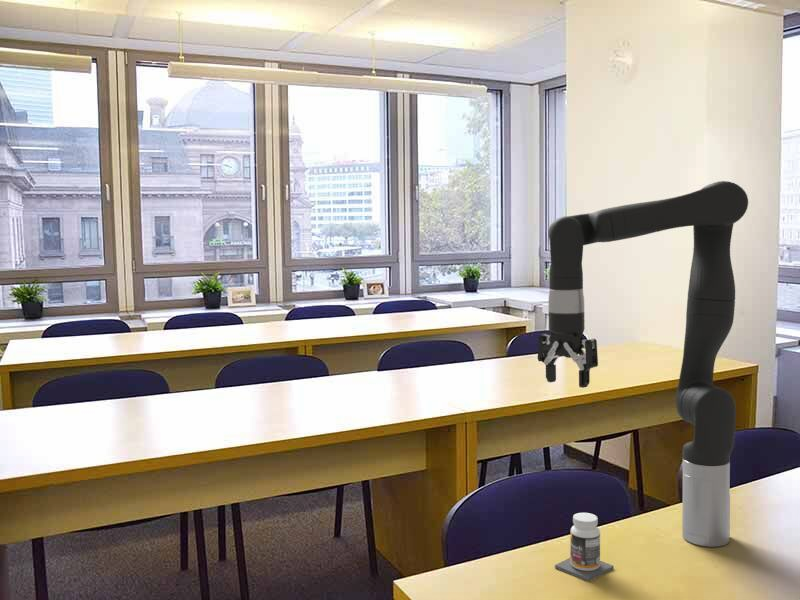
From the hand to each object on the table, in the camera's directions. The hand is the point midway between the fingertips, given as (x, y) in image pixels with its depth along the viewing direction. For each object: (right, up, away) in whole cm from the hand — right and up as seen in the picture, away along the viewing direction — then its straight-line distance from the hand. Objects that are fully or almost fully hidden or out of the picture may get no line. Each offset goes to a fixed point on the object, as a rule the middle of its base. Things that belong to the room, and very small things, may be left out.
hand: (567, 384), depth 161 cm
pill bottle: (0, -34, -15) cm, 37 cm away
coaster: (0, -35, -15) cm, 38 cm away
